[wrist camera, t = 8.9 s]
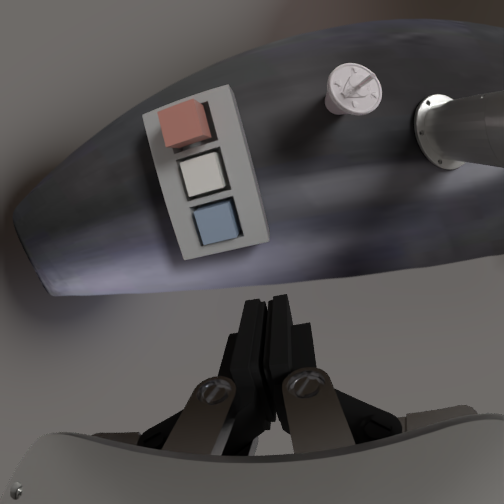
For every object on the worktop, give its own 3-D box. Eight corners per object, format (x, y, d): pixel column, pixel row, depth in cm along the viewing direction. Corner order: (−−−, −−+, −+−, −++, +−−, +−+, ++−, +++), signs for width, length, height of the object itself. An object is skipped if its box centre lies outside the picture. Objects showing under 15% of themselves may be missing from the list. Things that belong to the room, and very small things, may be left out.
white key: (220, 152, 35) (213, 152, 31) (228, 183, 37) (223, 187, 33) (189, 161, 36) (179, 162, 32) (198, 192, 37) (189, 196, 33)
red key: (203, 105, 30) (193, 98, 26) (211, 137, 32) (203, 134, 27) (170, 116, 31) (157, 111, 27) (178, 148, 32) (165, 147, 28)
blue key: (232, 197, 37) (227, 203, 33) (240, 228, 39) (237, 237, 35) (202, 205, 38) (193, 211, 34) (210, 235, 39) (203, 245, 35)
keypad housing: (233, 93, 34) (228, 84, 29) (269, 230, 40) (269, 241, 36) (157, 119, 36) (142, 115, 31) (193, 248, 42) (184, 260, 37)
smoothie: (366, 110, 33) (409, 91, 20) (333, 131, 35) (365, 119, 22) (339, 75, 32) (370, 41, 19) (306, 96, 33) (323, 66, 20)
